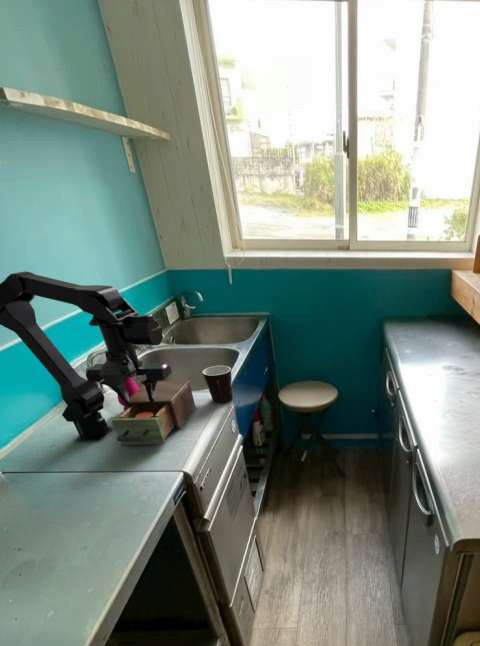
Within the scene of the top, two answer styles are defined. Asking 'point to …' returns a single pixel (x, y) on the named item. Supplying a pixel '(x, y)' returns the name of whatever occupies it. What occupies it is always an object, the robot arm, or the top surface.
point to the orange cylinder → (145, 415)
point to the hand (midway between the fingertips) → (140, 403)
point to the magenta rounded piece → (129, 391)
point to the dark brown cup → (219, 383)
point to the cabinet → (169, 399)
